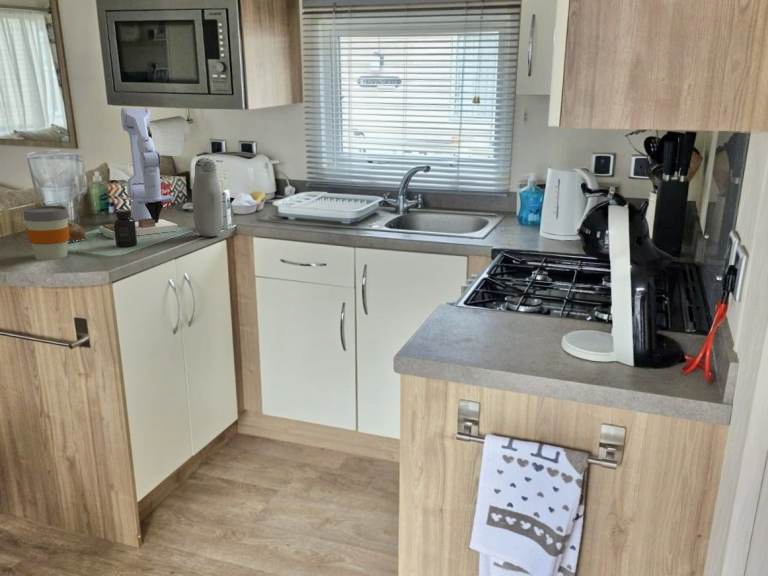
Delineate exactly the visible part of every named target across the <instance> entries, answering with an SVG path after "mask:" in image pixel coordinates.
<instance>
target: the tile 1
mask: <svg viewBox="0 0 768 576" xmlns="http://www.w3.org/2000/svg"><path fill="white" fill-rule="evenodd" d="M102 226H103V227H104V228H107V229H109V230H111V231H114V223H107V224H103V225H102Z"/></svg>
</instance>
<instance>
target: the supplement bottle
mask: <svg viewBox="0 0 768 576" xmlns="http://www.w3.org/2000/svg"><path fill="white" fill-rule="evenodd" d="M115 217H116V218H114V220H113V224H114V232H115V239H114V241H115V245H116V247H117V248H133V247H136V246H137V245H138V236H136V226H135V220H134V219H133V218H132V217H131V209H117V210H115Z"/></svg>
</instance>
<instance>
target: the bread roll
mask: <svg viewBox="0 0 768 576" xmlns="http://www.w3.org/2000/svg"><path fill="white" fill-rule="evenodd" d="M68 225H69V240H68V241H73V240H74V241H76V240H82V239H84V240H86V239H87V237H86V233H85V229H84V228H83V227H82V226H81V225H79V224H78V223H75V222H71V221H70V222H68ZM85 238H86V239H85ZM82 241H83V240H82Z"/></svg>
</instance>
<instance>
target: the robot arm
mask: <svg viewBox="0 0 768 576" xmlns="http://www.w3.org/2000/svg"><path fill="white" fill-rule="evenodd" d="M120 118H121V126H122V129H123V131H125V132H127V134H128V137H129V141H130V151H131V152H130V153H131V159H132V168H133V175H131V177H129V178H128V179H127V182H126V183H127V184H126V185H127V187H126V188H127V189H126V190H127V196H128V199H130V200H132V201H131V203H130V210H131V217H132V218H133V219H134V220H135V222H138V220H139V219H148V218H151V219H153V220H155V223H158V220H159V218H160V215H161V212H162V209H163V207H164V203H166V202H169V203H171V202H174V201H175V199H174V196H173V195H164V196H163V195H162V186H161V177H160V176H161V174H160V168H161V165H162V163H161V161H162V159H161V155H160V152H159V151H158V150H157V149H156V146H155V143H154V140H153V138H152V137H151V136H149V131H148V130H149V126H150V123H151V120H152V119H151V112H150V108H148V107H122V108H121V109H120Z"/></svg>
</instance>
